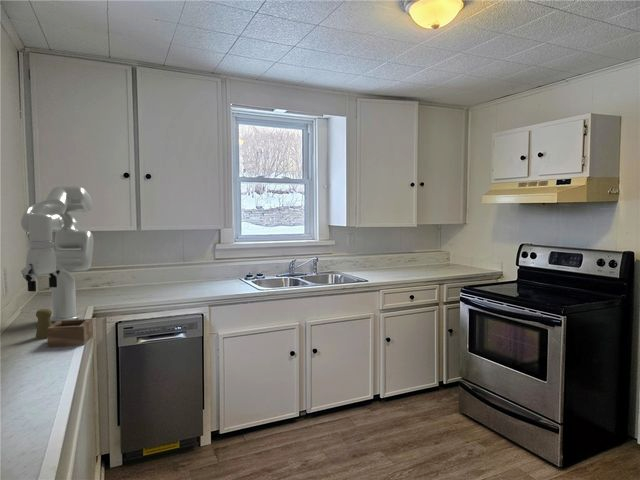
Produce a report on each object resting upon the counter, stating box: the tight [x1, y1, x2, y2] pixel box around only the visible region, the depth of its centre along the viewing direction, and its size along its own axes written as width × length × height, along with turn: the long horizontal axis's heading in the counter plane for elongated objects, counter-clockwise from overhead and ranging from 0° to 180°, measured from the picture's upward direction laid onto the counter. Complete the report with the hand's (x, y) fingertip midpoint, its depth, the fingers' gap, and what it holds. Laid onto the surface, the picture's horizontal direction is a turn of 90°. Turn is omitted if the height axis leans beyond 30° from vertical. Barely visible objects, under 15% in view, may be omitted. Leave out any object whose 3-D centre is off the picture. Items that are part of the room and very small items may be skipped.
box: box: [46, 318, 94, 348], centre depth 165 cm, size 12×12×7 cm
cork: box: [35, 308, 53, 340], centre depth 171 cm, size 6×6×11 cm
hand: (42, 289), depth 170 cm, fingers open, 9 cm apart
